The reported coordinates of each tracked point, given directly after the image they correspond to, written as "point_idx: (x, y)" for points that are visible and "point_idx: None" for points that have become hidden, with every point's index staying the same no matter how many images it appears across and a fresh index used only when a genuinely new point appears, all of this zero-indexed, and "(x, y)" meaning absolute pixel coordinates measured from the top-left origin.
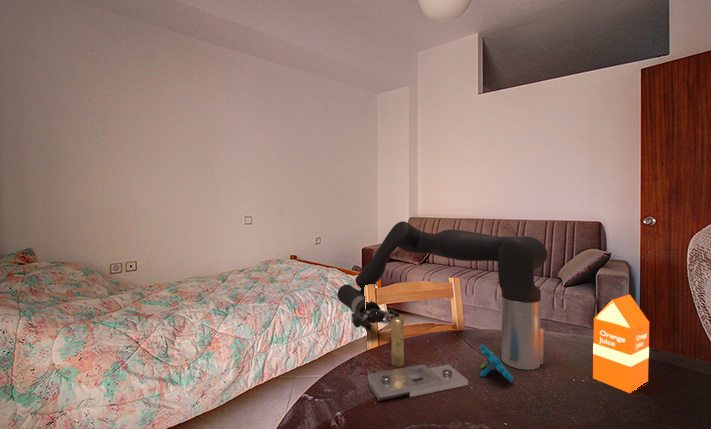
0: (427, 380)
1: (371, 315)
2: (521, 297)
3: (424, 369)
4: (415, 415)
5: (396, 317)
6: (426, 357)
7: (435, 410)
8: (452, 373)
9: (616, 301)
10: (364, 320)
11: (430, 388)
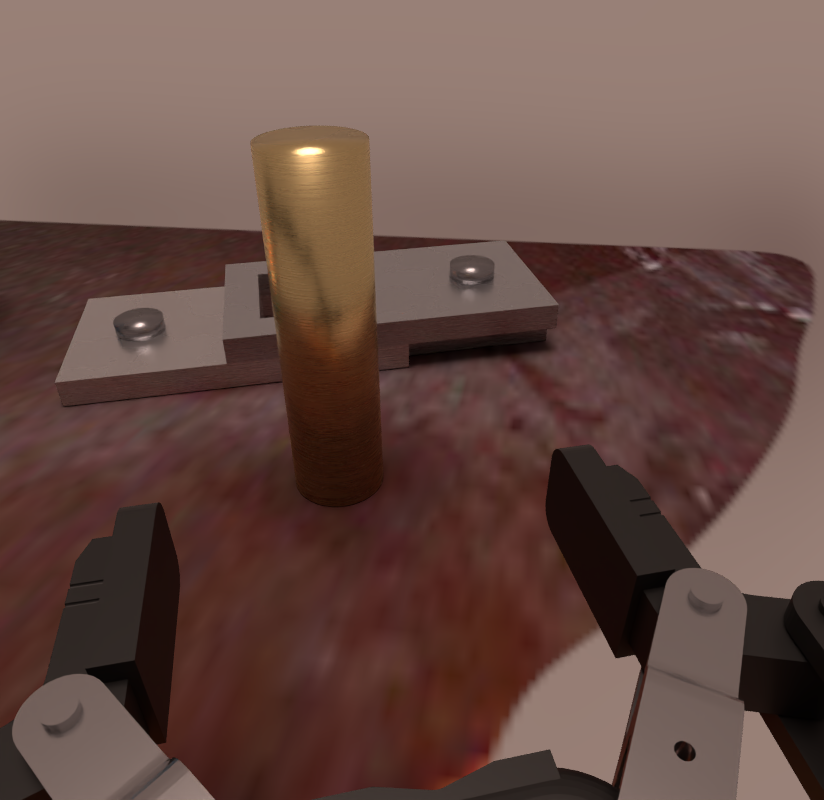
0: None
1: (557, 796)
2: None
3: (252, 311)
4: (394, 249)
5: (302, 151)
6: (79, 526)
7: None
8: (112, 330)
9: None
10: (680, 579)
11: None
